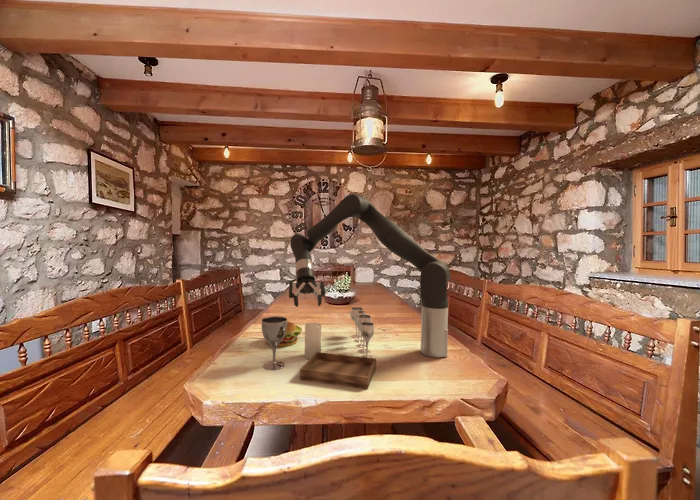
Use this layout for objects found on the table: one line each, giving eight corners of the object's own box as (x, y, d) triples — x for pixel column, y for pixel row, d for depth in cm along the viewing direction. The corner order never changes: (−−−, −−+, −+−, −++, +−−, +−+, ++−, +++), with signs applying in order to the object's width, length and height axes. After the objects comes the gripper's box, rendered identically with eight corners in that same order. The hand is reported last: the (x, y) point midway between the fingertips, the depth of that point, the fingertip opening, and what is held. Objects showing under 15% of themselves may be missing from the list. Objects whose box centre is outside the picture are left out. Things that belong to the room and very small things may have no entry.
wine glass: (291, 362, 102) (291, 317, 101) (278, 372, 94) (278, 323, 94) (270, 359, 104) (270, 315, 104) (256, 368, 97) (256, 321, 96)
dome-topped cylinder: (323, 353, 110) (323, 323, 109) (317, 359, 104) (318, 327, 104) (308, 352, 111) (308, 322, 111) (302, 358, 106) (302, 326, 105)
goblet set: (376, 360, 105) (377, 321, 105) (359, 360, 105) (360, 322, 104) (362, 334, 133) (362, 303, 132) (348, 334, 132) (349, 304, 132)
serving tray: (376, 368, 98) (376, 358, 98) (367, 389, 85) (367, 377, 85) (316, 361, 103) (316, 351, 103) (300, 379, 90) (300, 369, 90)
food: (284, 351, 112) (284, 329, 112) (257, 344, 119) (257, 323, 119) (308, 341, 124) (309, 321, 123) (283, 334, 131) (283, 316, 131)
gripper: (288, 266, 124) (290, 300, 114) (322, 266, 128) (328, 299, 118) (287, 278, 130) (289, 311, 119) (320, 277, 134) (325, 309, 123)
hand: (308, 305), depth 118 cm, fingers open, 8 cm apart
